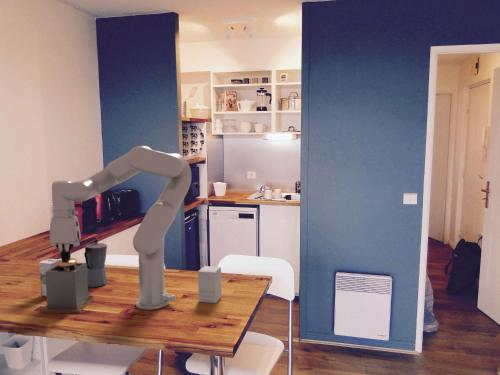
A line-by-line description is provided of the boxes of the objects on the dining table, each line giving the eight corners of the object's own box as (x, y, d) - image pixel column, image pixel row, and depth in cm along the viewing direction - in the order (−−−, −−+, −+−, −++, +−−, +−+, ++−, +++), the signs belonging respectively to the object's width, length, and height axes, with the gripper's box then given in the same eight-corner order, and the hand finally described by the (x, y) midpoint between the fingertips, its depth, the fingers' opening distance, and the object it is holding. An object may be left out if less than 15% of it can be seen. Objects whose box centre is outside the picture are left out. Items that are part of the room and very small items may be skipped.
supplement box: (221, 296, 172) (221, 266, 170) (215, 303, 165) (215, 272, 163) (204, 295, 174) (204, 265, 172) (198, 301, 166) (197, 270, 165)
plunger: (82, 292, 166) (80, 258, 165) (74, 300, 159) (72, 264, 157) (62, 292, 166) (61, 258, 165) (53, 300, 159) (51, 263, 157)
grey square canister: (93, 298, 170) (92, 261, 168) (79, 312, 156) (77, 273, 154) (59, 298, 170) (57, 261, 168) (41, 312, 156) (39, 272, 154)
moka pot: (114, 279, 193) (112, 236, 190) (98, 291, 178) (96, 245, 175) (94, 278, 194) (92, 236, 191) (77, 290, 179) (74, 244, 176)
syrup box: (62, 292, 176) (60, 259, 174) (52, 297, 170) (50, 263, 169) (51, 291, 178) (49, 257, 176) (40, 296, 172) (38, 261, 170)
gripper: (87, 212, 162) (89, 258, 164) (49, 211, 162) (51, 257, 165) (79, 215, 155) (81, 264, 157) (39, 215, 155) (41, 263, 157)
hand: (65, 260), depth 161 cm, fingers closed
